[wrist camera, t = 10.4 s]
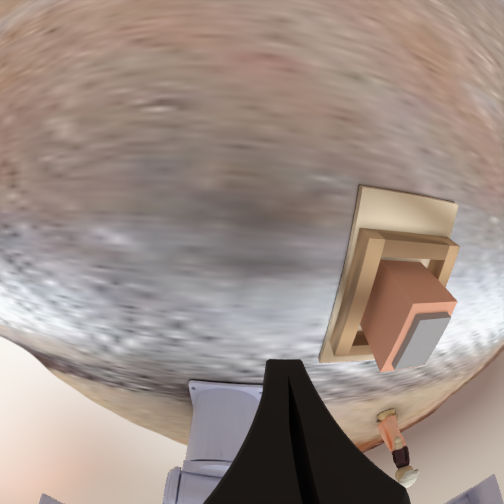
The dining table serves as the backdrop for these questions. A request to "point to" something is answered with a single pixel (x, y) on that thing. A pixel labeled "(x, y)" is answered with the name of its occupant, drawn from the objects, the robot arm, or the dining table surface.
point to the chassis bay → (386, 258)
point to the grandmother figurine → (397, 447)
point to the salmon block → (405, 314)
